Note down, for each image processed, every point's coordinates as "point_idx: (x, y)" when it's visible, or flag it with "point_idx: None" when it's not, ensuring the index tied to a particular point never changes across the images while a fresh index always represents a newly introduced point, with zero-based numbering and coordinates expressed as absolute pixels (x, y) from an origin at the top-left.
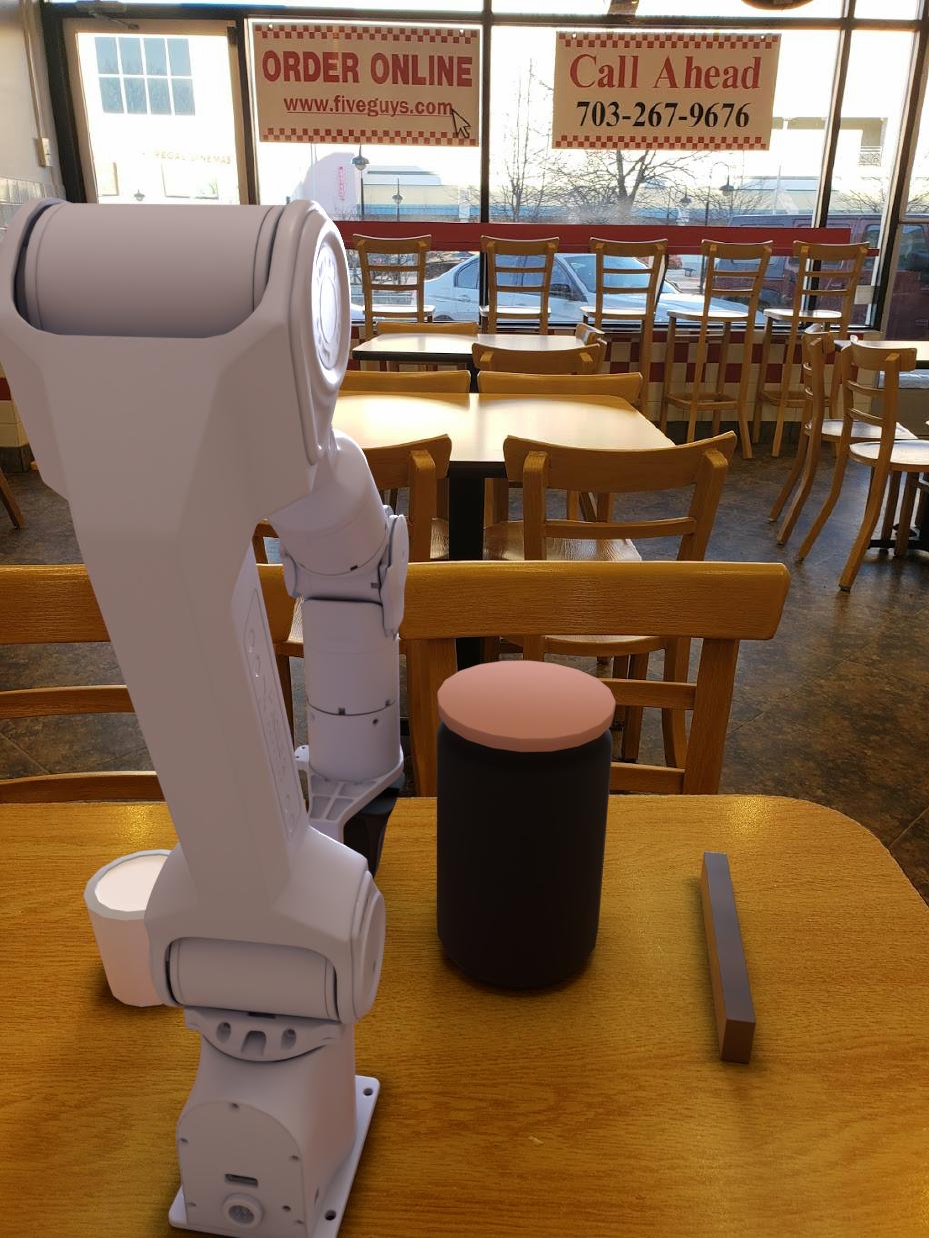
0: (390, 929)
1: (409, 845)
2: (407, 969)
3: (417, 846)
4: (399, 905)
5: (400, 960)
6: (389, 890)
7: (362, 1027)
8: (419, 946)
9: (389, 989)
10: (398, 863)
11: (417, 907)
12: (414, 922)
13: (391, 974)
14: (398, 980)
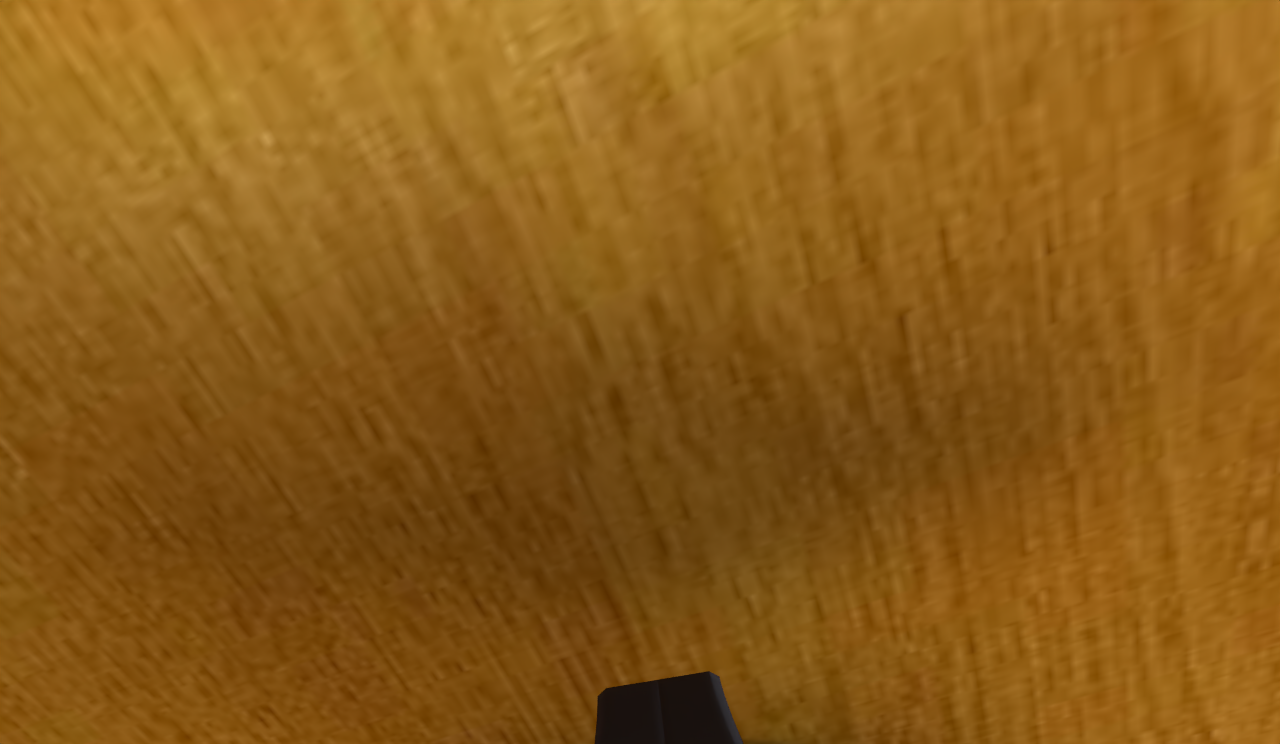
0: (629, 631)
1: (1214, 501)
2: (446, 738)
3: (1205, 530)
4: (782, 607)
5: (479, 709)
6: (872, 546)
7: (114, 731)
8: (574, 728)
9: (326, 730)
10: (1072, 509)
11: (786, 658)
12: None
13: (398, 711)
14: (381, 735)
